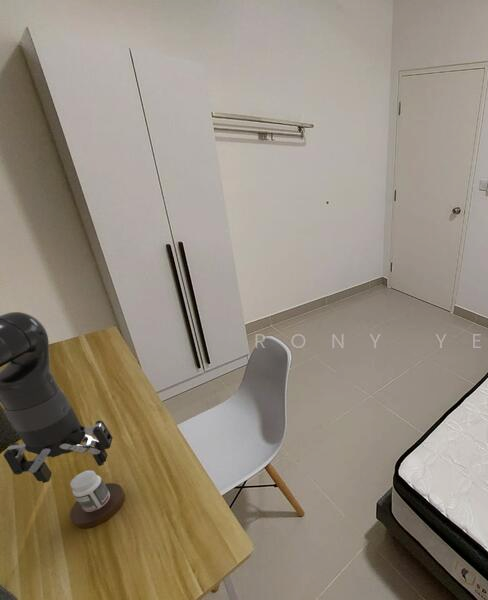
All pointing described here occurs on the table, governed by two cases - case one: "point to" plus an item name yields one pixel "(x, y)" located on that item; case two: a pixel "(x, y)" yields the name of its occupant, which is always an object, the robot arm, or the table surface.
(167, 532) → the table surface
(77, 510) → the walnut disc
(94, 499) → the pill bottle
